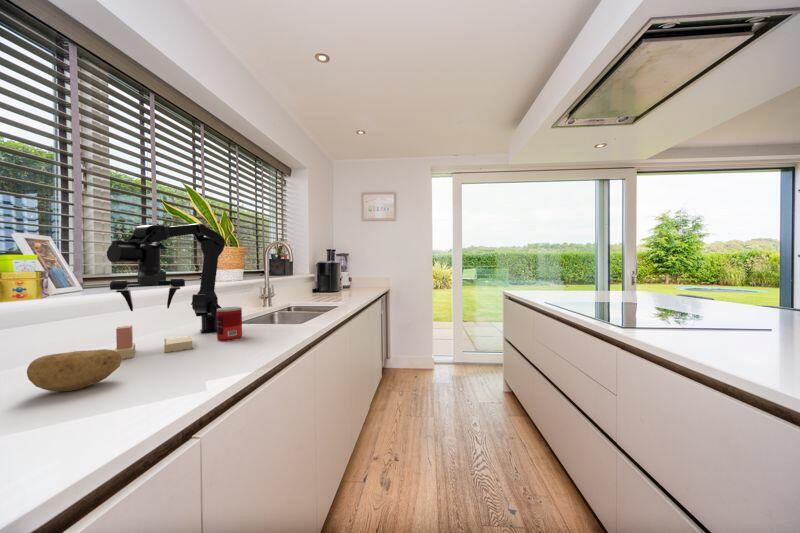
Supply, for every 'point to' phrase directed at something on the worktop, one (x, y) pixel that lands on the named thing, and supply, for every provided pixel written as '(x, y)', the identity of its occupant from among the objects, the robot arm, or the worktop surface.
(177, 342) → the hinged cream panel
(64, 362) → the potato
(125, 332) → the stub
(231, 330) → the canned food
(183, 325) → the worktop surface
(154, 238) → the robot arm
